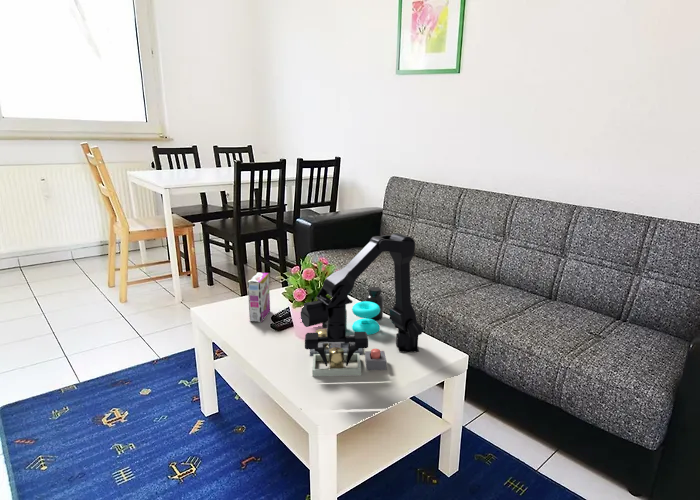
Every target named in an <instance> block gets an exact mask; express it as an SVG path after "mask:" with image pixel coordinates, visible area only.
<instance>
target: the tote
mask: <svg viewBox="0 0 700 500" xmlns="http://www.w3.org/2000/svg"><path fill="white" fill-rule="evenodd" d="M326 356H327V362H329V354H326ZM346 356H347V353H344V361H346ZM360 356H361V355H359V353H354V354H353V355H352V357H351V359H350V361H357V362H356V363H357V367H349V368H348V367H344V368H335V369H330V368H316V363H317V362H324V361H323V359H322V357H321V355H320V354H313V356H312V367H311V368H312V369H311V373H312V374H311V375H312V376H311V377H337V376H338V377H343V376H345V377H346V376H362V364H361V358H360Z"/></svg>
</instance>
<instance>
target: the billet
mask: <svg viewBox="0 0 700 500" xmlns="http://www.w3.org/2000/svg"><path fill="white" fill-rule="evenodd" d="M328 362H329V367H328V369H335V368H345V364H344V363H345V360H344V350H343V349H342V348H339V347H334V348H331V349H330V350H329V361H328Z"/></svg>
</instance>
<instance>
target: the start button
mask: <svg viewBox="0 0 700 500" xmlns="http://www.w3.org/2000/svg"><path fill="white" fill-rule="evenodd" d="M370 351H371V359H380V351H381V350H380V349H379V348H371V350H370Z"/></svg>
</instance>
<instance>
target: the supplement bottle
mask: <svg viewBox="0 0 700 500" xmlns="http://www.w3.org/2000/svg"><path fill="white" fill-rule="evenodd" d="M367 293H368V294H366V296H365V301H368V302H373V303H376V304H377V305H379V307H380V313H379V314H378V315H377V316H375V317H373V318H367V319H372V320H375V321H376V322H378V321H381V320H382V319H383V318H384V317H383V315H384V297H383V295H382V288H381V287H379V286H371V287H368V292H367Z"/></svg>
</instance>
